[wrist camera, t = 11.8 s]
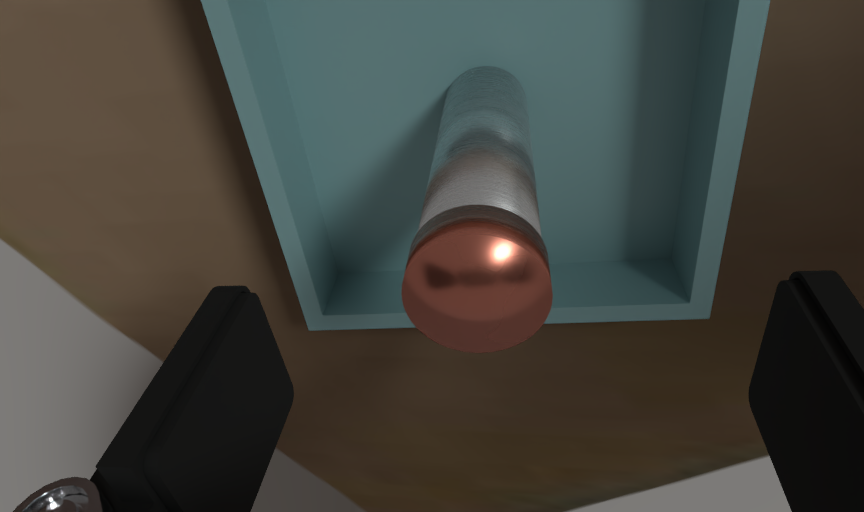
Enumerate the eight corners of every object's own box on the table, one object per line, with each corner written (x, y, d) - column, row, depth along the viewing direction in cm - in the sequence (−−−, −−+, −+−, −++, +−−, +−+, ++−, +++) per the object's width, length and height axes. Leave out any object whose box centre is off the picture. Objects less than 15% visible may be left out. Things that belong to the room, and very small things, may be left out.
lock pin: (528, 58, 20) (552, 231, 11) (531, 144, 22) (553, 351, 13) (437, 67, 21) (390, 239, 12) (446, 150, 23) (412, 354, 14)
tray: (756, -203, 16) (811, -212, 13) (685, 264, 25) (709, 318, 22) (215, -121, 19) (163, -113, 16) (328, 279, 28) (308, 330, 25)
